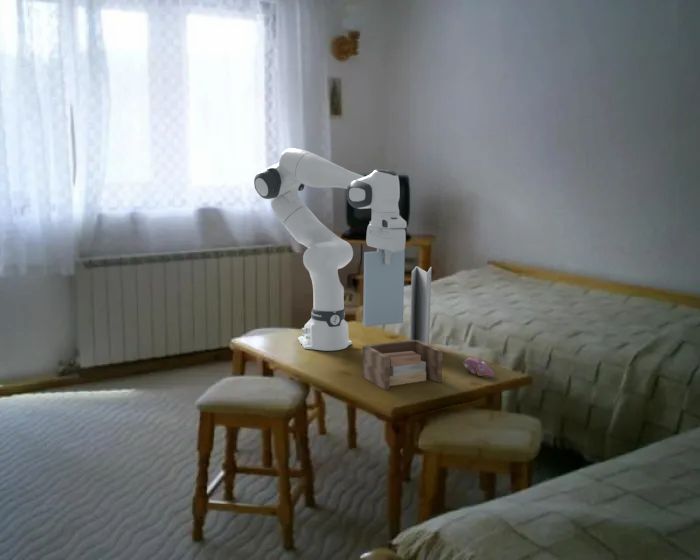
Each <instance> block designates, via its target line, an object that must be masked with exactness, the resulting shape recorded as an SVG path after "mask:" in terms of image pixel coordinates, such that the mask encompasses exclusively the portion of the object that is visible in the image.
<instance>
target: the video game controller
mask: <svg viewBox="0 0 700 560" xmlns="http://www.w3.org/2000/svg"><path fill="white" fill-rule="evenodd" d="M462 364H463V366H464V367H465V368H466V369H467V370H468V371H470V373H471V374H472V373H473V374H472V375H475V374H477V376H478V377H480V376H482V377H483V376H484V375H485V376H486V377H489V378H494V377H495V375H496V374H495V371H494V370H493V369H492V368H491V367H490V366H489V365H488V363H486V362H485V361H484V360H481V359H480V358H477V357H471V356H469V357H468V358H466V359H465V360H463V363H462Z"/></svg>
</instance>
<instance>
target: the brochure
mask: <svg viewBox="0 0 700 560" xmlns="http://www.w3.org/2000/svg"><path fill="white" fill-rule="evenodd" d="M410 283H411V286H410V294H411V295H410V325H409V326H410V328H409V340H419V341H422V342H424V343H426V344H428V345H430V331H431V327H430V326H431V295H432V290H431V289H432V266H430V267H429V268H428V271H426V270H424V269H423V268H420V266H415V267H414V269H412V271H411V281H410Z"/></svg>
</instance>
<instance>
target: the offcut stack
mask: <svg viewBox="0 0 700 560" xmlns="http://www.w3.org/2000/svg"><path fill="white" fill-rule="evenodd" d="M384 354H385V355H386V356H388V357H390V385H389V387H391V386H399V385H404V384H405V385H406V383H407V384H412V383H413V382H414V383H419V382H420V381H421V382H427V377H426V372H425V371H426V362H424V361H422V360H421V356H420V355H418V354H417V353H415V352H413V351H406V352H395V353H384ZM414 383H413V384H414Z"/></svg>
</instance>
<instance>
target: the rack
mask: <svg viewBox="0 0 700 560" xmlns="http://www.w3.org/2000/svg"><path fill="white" fill-rule="evenodd" d="M406 351H413V352H415V353H417V354H418V355H420V356H421V360H422V361H424V362H426V371H425V372H426V378H428V379H430V380H432V381H433V380H434V381H433V382H435V381H436V382H435V383H437V382H439V383H443V380H442V379H443V355H444V354H443V353H444V351H443V350H441V349H439V348H437V347H435V346H433V345H430V344H429V345H428V344H426V343H424V342H422V341H419V340H410V339H409V340H403V341H394V342H384V343H375V344H367V345H366V344H365V345H362V356H361V357H362V359H361V360H362V361H361V362H362V365H361V366H362V367H361V368H362V369H361V376H362V377H363V378H365V379H366V380H368V381H369V382H370V383H372V384H374V385H375V386H377V387H378V388H379V387H380V388H381V389H382V390H384V391H389V390H390V386H389V385H390V357H388V356H386V355H385V354H384V353H395V352H406Z"/></svg>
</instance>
